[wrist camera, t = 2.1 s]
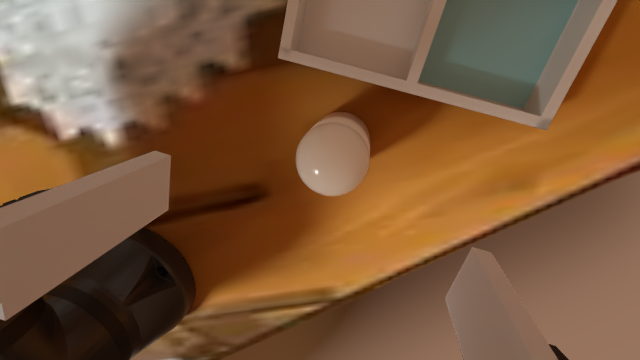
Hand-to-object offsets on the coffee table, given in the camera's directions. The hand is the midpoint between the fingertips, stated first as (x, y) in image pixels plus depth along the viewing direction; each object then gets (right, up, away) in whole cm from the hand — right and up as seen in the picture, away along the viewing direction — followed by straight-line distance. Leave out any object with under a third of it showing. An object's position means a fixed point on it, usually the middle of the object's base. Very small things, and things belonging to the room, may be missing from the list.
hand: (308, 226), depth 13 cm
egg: (+2, +6, +15) cm, 16 cm away
